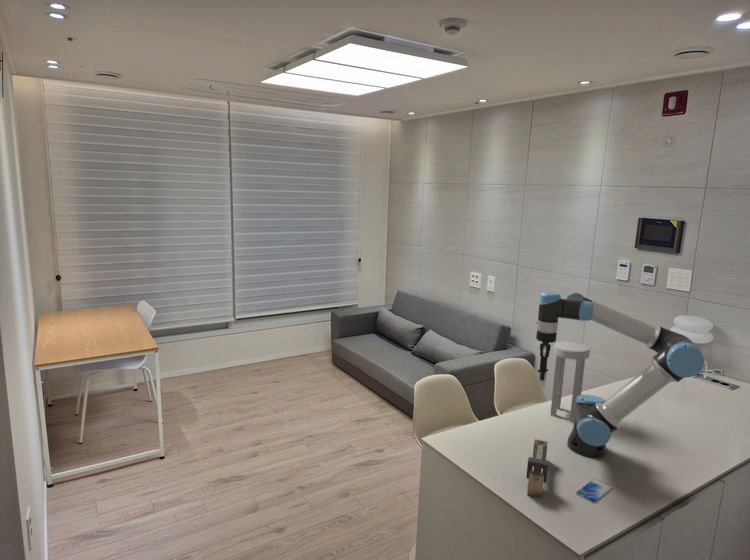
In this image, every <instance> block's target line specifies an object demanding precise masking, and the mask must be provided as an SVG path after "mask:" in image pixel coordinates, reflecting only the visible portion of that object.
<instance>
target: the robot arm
mask: <svg viewBox="0 0 750 560" xmlns="http://www.w3.org/2000/svg"><path fill="white" fill-rule="evenodd" d="M561 297H562V296H561V294H560V293H558V292H554V291H543V292H542V293H540V296H539V302H538V303H539V304H538V314H537V321H536V322H535V324H536V325H537V326H536V329H537V330H536V335H535V339H536V340H537V341H538V342H541V343H540V344H539V357H540V362H539V369H537V373H538V382H537V387H538V388H542V389H545V388H546V379H547V372H549V368H548V358H549V356H550V352H551V347H552V343H555V342H557V336H558V333H557V332H558V325H559V318H560V319H569V320H574V321H575V320H576V321H581V322H582V321H586V322H587V321H588V322H590V321H593V322H595V323H597V324H599V325H601V326H604V327H606V328H608V329H610V330H613V331H615V332H618V333H620V334H622V335H624V336H627V337H629V338H630V339H634V340H636V341H638V342H640V343H643V344H645V346H646V348H648V349H649V350H652V351H654V352H655V353H657V354H655V355H654V356H652V357H651V358H652V359H651V364H649V366H647V367H646V368H645V369H644V370H642V371H641V372H640V373H639V374H637V375H636V376H634V378H632V379H631V380H630V381H628V382H627V383H626V384H625V385H624V386H622V387H621V388H620V389H618V390H617V391H616V392H615V393H614V394H612V395H611V396H610V397H608V398H607V399H605V398H603V397H601V396H597V395H593V394H581V395H579V396H578V397H577V401H576V411H575V419H574V421H573V428H572V430H571V432H570V433H569V436H568V438H567V442H566V443H567V444H566V445H567V447H568V448H569V449H570V450H571V451H572V452H574V453H576V454H578V455H581V456H584V457H588V458H589V457H591V458H600V457H601V458H602V457H603V456H605V455H606V453H607V444H608V442H609V441H610V439H611V437H612V434H613V433H614V432H615V431H617V430H618V429H619V428H620V426H621V423H620V422H621V421H622V420H623V419H624V418H626V417H628V416H629V415H630V414H631V413H632V412H634V411H635V410H636V409H638V408H639V407H640V406H641V405H643V404H644V403H646V402H647V401H648V400H649V399H651V398H652V397H653V396H654V395H656V394H658V393H659V392H660V391H662V389H664V388H665V387H666V386H667V385H669V384H670V383H679V382H681V381H682V380H683V379H684V378H691V377H695V376H696V375H698V374H699V373H700V372H701V371H702V370H703V368H704V366H705V357H704V354H703V352H702V350H701V349H700V348H699V347H698V346H697V345H696V344H695V343H694V342H693V341H692V340H691V339H690V338H689V337H687V336H686V335H684V334H681V333H679V332H675V331H673V330H670V329H668V328H665V327H662V326H660V325H657V326H653V325H651V324H649V323H646V322H645V321H641V320H639V319H638V318H637V319H636V318H635V317H632V316H629V315H627V314H625V313H624V312H623V313H622V312H620V311H618V310H616V309H613V308H611V307H608V306H607V305H604V304H601V303H599V302H597V301H594V300H592V299H589V298H587V297H585V296H584V295H582V294H581V293H579V292H571V293H569V294H568V295H566V297H565V299H564V298H561Z"/></svg>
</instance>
